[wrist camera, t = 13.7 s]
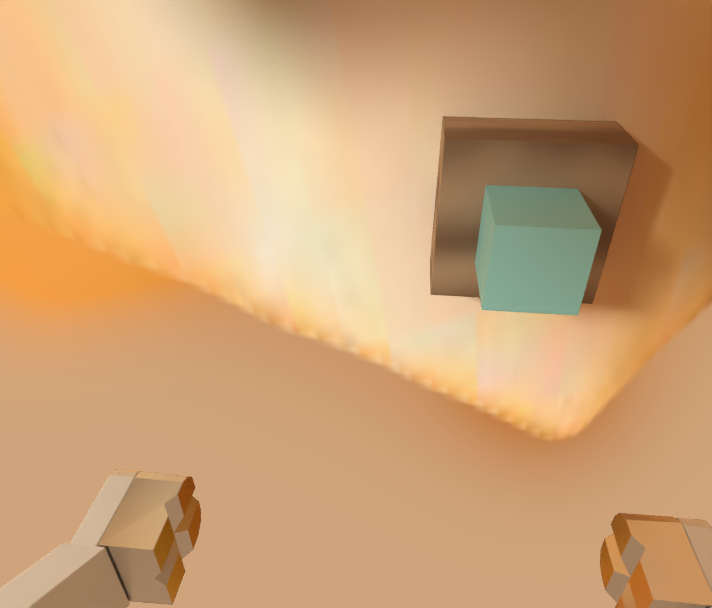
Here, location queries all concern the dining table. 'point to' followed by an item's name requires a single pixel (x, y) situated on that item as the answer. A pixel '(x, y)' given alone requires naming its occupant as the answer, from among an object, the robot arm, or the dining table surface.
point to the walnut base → (521, 183)
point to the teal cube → (535, 249)
